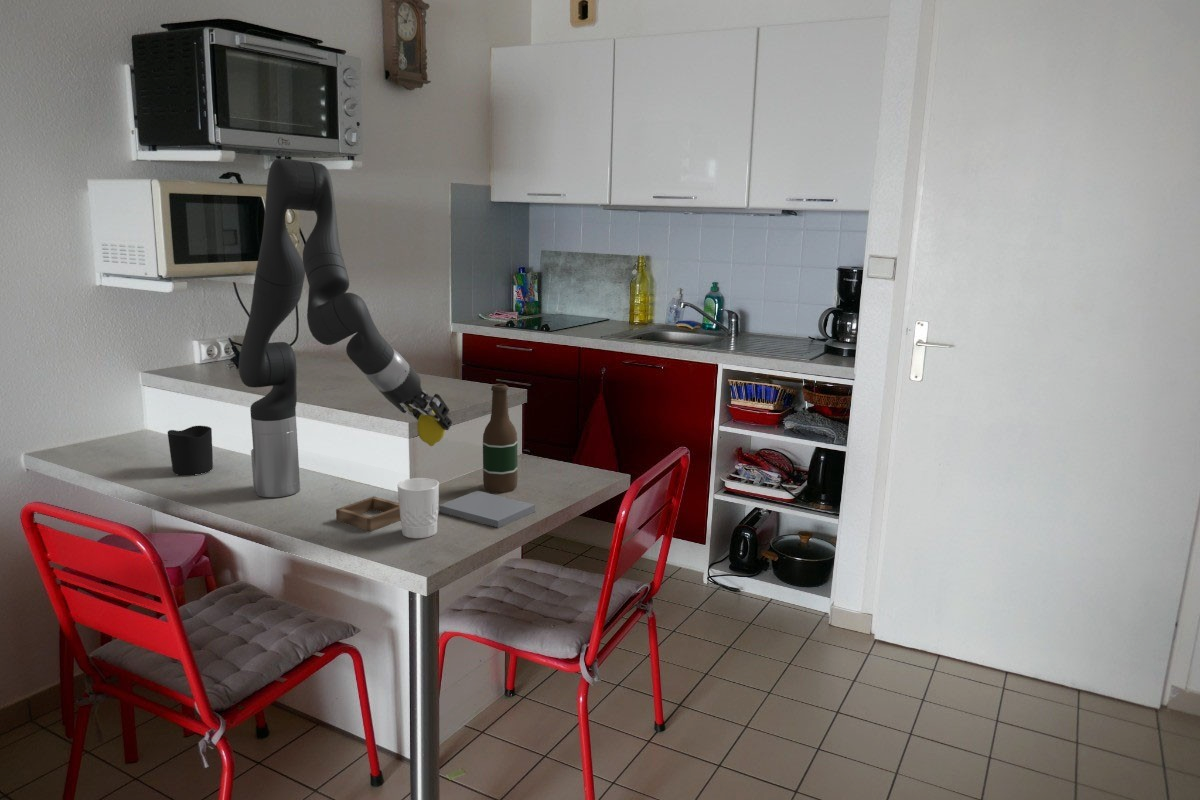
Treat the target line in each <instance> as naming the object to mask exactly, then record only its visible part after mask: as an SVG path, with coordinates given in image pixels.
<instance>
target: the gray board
mask: <svg viewBox="0 0 1200 800" xmlns="http://www.w3.org/2000/svg"><path fill="white" fill-rule="evenodd" d="M535 512H536V504H533V503H530V502H524V501H521V500H517V499H512V498H508V497H504V496H500V495H497V494H492V493H490V492H484V491H481V490H475V491H472V492H470V493H468V494H465V495H462V496H460V497H457V498H454V499H452V500H449V501H447V502H444V503H441V504H439V507H438V513H441V514H445V515H448V514H449V516H452V515H453V516H452V517H457V518H459V517H460V518H461V519H463V518H464V520H467V521H472V522H474V521H475V523H478V524H481V525H482V524H483V525H485V524H486V525H485V526H489V525H490V526H489V527H493V526H494V527H493V528H496V527H497V528H496V529H499V527H500V528H502V527H503V526H506V525H509V524H511V523H513V522H515V521H517V520H520V519H522V518H524V517H526V516H528V515H530V514H533V513H535ZM460 518H459V519H460Z"/></svg>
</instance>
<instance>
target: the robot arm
mask: <svg viewBox="0 0 1200 800" xmlns="http://www.w3.org/2000/svg"><path fill="white" fill-rule="evenodd" d="M267 175H268V176H267V181H266V189H265V190H266V192H265V204H264V205H265V206H264V215H263V216H264V217H263V229H262V237H261V242H260V246H259V247H260V248H259V253H258V260H257V264H256V268H255V274H254V282H253V290H252V297H251V298H252V299H251V306H250V311H249V316H248V317H249V318H248V320H247V321H248V322H247V324H246V328H245V329H246V330H245V332H244V336H243V339H242V344H241V348H240V352H239V357H238V374H239V378H240V380H241V382H242V384H244V386H246V387H248V388H264V387H271V390H270V391H269V392H268V393H267V394H266V395H265V396H263V397H262V398H259V399H258V400H256V401H254V402H253V403H252V404H251V405H250V422H251V423H250V424H251V425H250V427H251V437H252V439H251V440H252V449H251V450H250V455H251V469H252V484H253V491H255V493H256V495H258V496H259V497H263V498H283V497H287V496H291V495H294V494H296V493H299V492H300V490H301V481H300V463H299V461H300V460H299V446H298V427H297V412H296V407H297V404H298V403H297V400H298V398H297V373H298V372H297V359H296V355H295V352H294V349H293V347H292V346H291V344H289V343H288V342H284V341H277V342H276V341H274V342H270V340H271V337H272V336H273V334H274V333H275V331H276V330H277V328H279V326H280V325H281V324H282V323H283V322H284V321H285V320H286V319H287V318H288V316H289V315H290V314H291V313H292V312H293V311H294V310H295V308H296V307H297V305H298V304H299V302H300V299H301V297H302V292H303V288H304V281H305V278H306V280H307V282H308V283H307V284H308V295H307V297H308V299H307V310H306V311H307V312H306V314H307V315H306V317H307V318H306V320H307V326H308V328H309V331H310V333H311V335H312V337H313V339H315V340H316V341H317V342H319V344H323V346H324V345H326V346H332V345H335V344H337V343H339V342H341V341H343V340H345V339H347V338H348V337H351V336H352V335H353V336H352V337H351V338H350V339H349V341H348V342H347V344H346V348H345V351H346V356H347V357H348V358H349V359H350V360H351V362H352V363H354V365H356V367H357V368H359V370H360V371H361V372H362V373H363V374H364V375H365V376H366V378H367V380H368V381H369V382H370V383H371V385H373V386H374V387H375V388H376V390H378V391H379V393H381V395H383V396H384V398H385V399H386V400H387V401H389V402H390V403H391V404H392V405H393V406H394V407H395V408H397V409H398V410H399V411H400V412H401V413H403V414H406V413H407V414H408V415H409V416H411V417H413V418H415V420H417V421H418V419H419V416H420V415H421V414H424V415H425V416H427V415H429V416H430V417H432V418H433V419H434V420H435V421H436V422H437V423H438V424H439V425H440V426H441V427H442V428H443V429H444V430H445V431H449V430H450V428H451V427H452V424H453V421H452V419H450V417H449V416H448V414H449V412H450V408H449V407H448V406H447V404H446V403H445V401H444V399H443V398H442V397H441V395H440V394H438V393H435V394H434V395H433V396H431V395H429V394H428V392H427V390H425V389H424V388H422V386H421V382H422V381H421V376H420V375H419V374H418V373H417V371H416V370H415V369H414V368H413V367H412V366H411V365H410V364H409V362H408V361H407V360H406V359H405V358H404V357H403V356H402V355H401V354H400V353H399V352H398V351H397V350H396V349H394V348H393V346H391V345H390V343H389V342H388V341H387V340H386V339H385V338H384V337H383V336H382V334H381V333H380V331H379V330H378V328H377V326H376V325H375V323H374V321H373V318H372V316H371V313H370V310H369V308H368V306H367V304H366V302H365V301H364V299H363V298H362V297H361V296H359V295H358V294H355V293H353V292H347V291H348V289H349V288H350V279H349V275H348V271H347V268H346V265H345V261H344V257H343V253H342V251H341V246H340V238H339V232H338V231H339V229H338V221H337V211H336V204H335V202H336V201H335V196H334V188H333V187H334V186H333V181H332V178H331V174H330V171H329V170H328V168H327V167H326V166H325V165H324V164H322V163H318V162H315V161H305V160H299V159H298V160H297V159H293V158H292V159H290V158H276V159H274V160H273V161H272V162H271V165H270V166H269V171H268V174H267ZM288 210H296V211H306V212H314V213H315V214H316V221H315V224H314V228H313V229H312V231H311V233H310V234H309V236H308V238H307V240H306V242H305V244H304V246H303V250H302V257H301V255H300V253H299V251H298V249H297V247H296V245H295V243H294V242H293V239H292V238H291V235H290V234H289V230H288V228H287V224H286V216H287V215H286V213H287V211H288ZM427 406H428V407H427ZM432 411H434V413H435V414H434V413H432Z"/></svg>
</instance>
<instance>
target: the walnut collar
mask: <svg viewBox="0 0 1200 800" xmlns="http://www.w3.org/2000/svg"><path fill="white" fill-rule="evenodd" d="M376 510H377V512H380V511H381V512H380V513H378V514H375V515H372V516H369V515H366V513H369V512H371V511H376ZM335 514H336V518H335V519H336V522H338V521H339V523H341V524H345V525H348V524H349V526H352V527H355V528H358V529H362V530H365V531H369V532H374V531H376V530H378V529H381V528H384V527H386V526H389V525H391V523H392V524H394V523H396V522H399V521H401V519H400V508H399V502H396V501H393V500H388V499H384V498H383V497H382V498H381V497H377V496H374V495H373V496H371V497H368V498H364V499H361V500H358V501H356V502H353V503H350V504H348V505H345V506H342V507H341V506H340V507H339V508H336V509H335Z"/></svg>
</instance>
